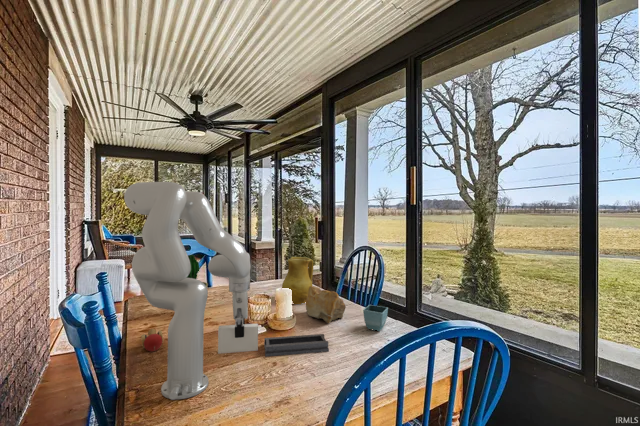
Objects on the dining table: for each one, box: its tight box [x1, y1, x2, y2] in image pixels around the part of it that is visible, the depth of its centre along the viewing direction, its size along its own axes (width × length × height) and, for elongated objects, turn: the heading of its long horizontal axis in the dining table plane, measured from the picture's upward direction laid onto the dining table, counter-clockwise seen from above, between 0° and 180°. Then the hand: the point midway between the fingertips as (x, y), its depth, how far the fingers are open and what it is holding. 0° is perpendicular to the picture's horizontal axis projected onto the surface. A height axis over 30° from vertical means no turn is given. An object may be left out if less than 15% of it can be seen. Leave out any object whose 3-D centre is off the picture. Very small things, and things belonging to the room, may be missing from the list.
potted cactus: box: [186, 253, 209, 288], centre depth 152 cm, size 15×15×30 cm
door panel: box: [217, 323, 259, 355], centre depth 117 cm, size 4×14×9 cm, turn 102°
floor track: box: [263, 333, 330, 358], centre depth 119 cm, size 10×23×3 cm, turn 102°
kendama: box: [140, 328, 164, 352], centre depth 120 cm, size 8×6×18 cm
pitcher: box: [281, 256, 314, 305], centre depth 178 cm, size 17×19×25 cm
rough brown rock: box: [305, 285, 347, 324], centre depth 152 cm, size 23×17×15 cm
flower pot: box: [362, 304, 389, 332], centre depth 139 cm, size 9×9×9 cm
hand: (240, 331), depth 117 cm, fingers open, 9 cm apart
